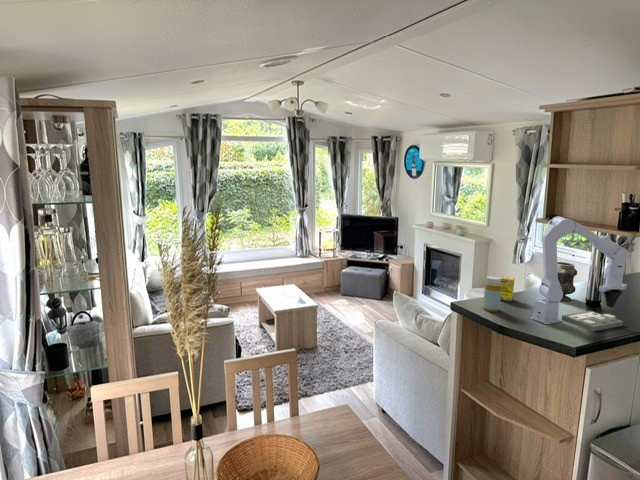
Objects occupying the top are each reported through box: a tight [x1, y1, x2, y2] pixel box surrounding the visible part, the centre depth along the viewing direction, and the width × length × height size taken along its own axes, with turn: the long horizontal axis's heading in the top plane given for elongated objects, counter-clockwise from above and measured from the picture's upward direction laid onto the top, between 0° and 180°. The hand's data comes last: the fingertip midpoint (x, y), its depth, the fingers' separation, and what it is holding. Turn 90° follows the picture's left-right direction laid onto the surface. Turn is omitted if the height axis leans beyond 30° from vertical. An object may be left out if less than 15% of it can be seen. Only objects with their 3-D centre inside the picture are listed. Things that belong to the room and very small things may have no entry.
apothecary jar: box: [557, 261, 578, 302], centre depth 217 cm, size 12×12×18 cm
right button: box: [602, 313, 617, 321], centre depth 185 cm, size 4×4×2 cm
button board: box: [561, 310, 623, 332], centre depth 185 cm, size 18×14×2 cm
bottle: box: [482, 275, 501, 313], centre depth 199 cm, size 7×7×15 cm
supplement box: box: [500, 276, 515, 303], centre depth 214 cm, size 6×6×11 cm
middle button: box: [592, 316, 606, 323], centre depth 182 cm, size 4×4×2 cm
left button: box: [582, 320, 596, 325], centre depth 180 cm, size 4×4×2 cm
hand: (610, 306), depth 184 cm, fingers closed
